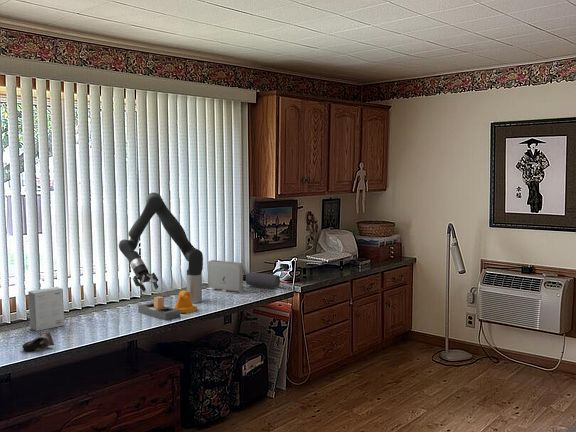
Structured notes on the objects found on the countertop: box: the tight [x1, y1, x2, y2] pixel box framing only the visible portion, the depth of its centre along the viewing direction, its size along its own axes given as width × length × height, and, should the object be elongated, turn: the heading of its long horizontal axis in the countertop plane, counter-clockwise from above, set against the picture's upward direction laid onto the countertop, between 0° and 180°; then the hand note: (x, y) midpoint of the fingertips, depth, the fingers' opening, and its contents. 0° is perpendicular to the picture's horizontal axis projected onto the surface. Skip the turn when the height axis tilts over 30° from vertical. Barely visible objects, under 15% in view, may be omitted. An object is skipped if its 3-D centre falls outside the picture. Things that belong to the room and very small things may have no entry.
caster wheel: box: [21, 331, 55, 352], centre depth 277 cm, size 7×11×10 cm
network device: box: [207, 259, 244, 295], centre depth 399 cm, size 26×9×20 cm, turn 62°
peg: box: [153, 295, 165, 309], centre depth 339 cm, size 4×4×10 cm
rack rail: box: [137, 302, 181, 322], centre depth 339 cm, size 26×10×4 cm, turn 48°
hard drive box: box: [27, 286, 65, 332], centre depth 313 cm, size 16×8×20 cm, turn 135°
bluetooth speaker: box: [245, 272, 281, 290], centre depth 412 cm, size 23×9×10 cm, turn 66°
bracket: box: [174, 290, 198, 314], centre depth 346 cm, size 11×7×12 cm, turn 134°
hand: (151, 289), depth 343 cm, fingers open, 8 cm apart
